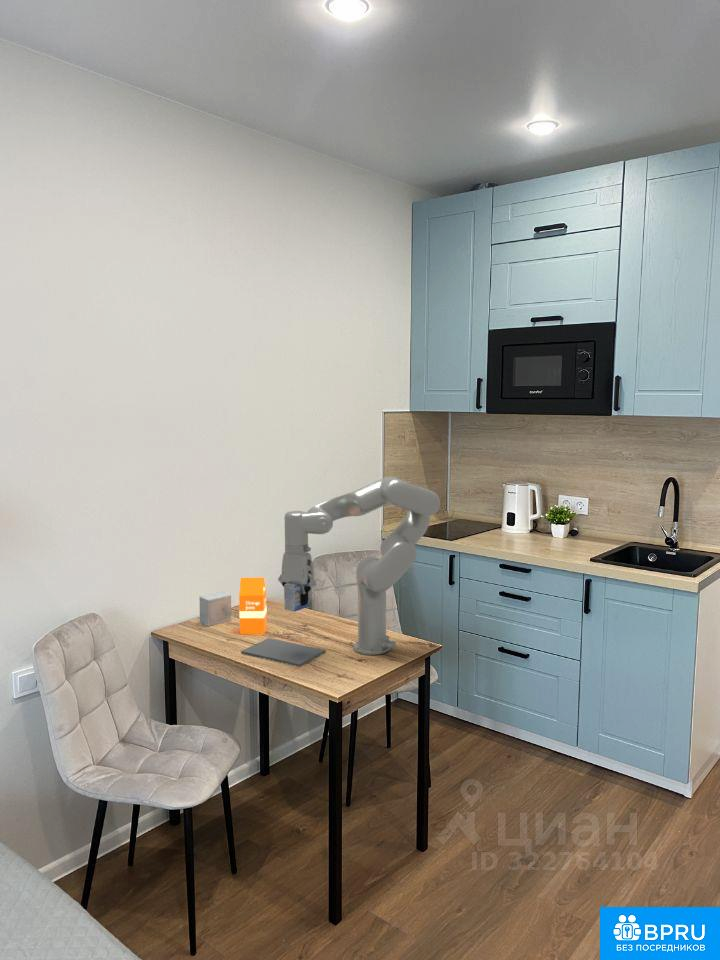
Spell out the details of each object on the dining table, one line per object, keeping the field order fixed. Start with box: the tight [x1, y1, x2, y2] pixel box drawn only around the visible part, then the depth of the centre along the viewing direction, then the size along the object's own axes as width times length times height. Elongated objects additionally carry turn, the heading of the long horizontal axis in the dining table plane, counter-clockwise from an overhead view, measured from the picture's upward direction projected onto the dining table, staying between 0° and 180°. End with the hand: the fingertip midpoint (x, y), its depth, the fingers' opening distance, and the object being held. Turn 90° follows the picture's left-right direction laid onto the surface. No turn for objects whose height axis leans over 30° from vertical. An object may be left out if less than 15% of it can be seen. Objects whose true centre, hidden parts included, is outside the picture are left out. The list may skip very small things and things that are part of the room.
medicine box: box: [283, 583, 311, 613], centre depth 236 cm, size 8×4×9 cm, turn 143°
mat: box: [240, 637, 326, 667], centre depth 241 cm, size 24×15×1 cm, turn 60°
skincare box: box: [199, 591, 232, 627], centre depth 274 cm, size 10×6×10 cm, turn 133°
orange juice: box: [238, 577, 268, 635], centre depth 263 cm, size 8×9×20 cm
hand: (297, 603), depth 236 cm, fingers closed on medicine box, 4 cm apart
